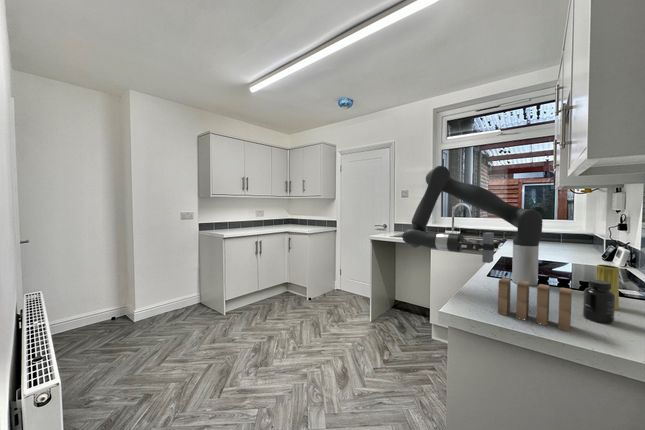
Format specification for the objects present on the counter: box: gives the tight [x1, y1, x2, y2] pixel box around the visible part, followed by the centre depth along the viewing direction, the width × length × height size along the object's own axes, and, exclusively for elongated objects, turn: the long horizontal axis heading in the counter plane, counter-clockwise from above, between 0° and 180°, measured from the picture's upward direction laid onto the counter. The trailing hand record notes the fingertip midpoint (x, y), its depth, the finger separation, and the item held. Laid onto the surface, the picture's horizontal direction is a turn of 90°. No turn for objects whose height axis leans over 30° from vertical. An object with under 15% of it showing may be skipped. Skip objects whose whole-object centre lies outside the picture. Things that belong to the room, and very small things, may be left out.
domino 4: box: [535, 283, 551, 326], centre depth 82 cm, size 5×2×11 cm, turn 135°
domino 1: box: [481, 231, 495, 264], centre depth 103 cm, size 5×2×11 cm, turn 134°
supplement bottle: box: [582, 279, 616, 325], centre depth 83 cm, size 7×7×12 cm
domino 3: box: [515, 281, 530, 321], centre depth 86 cm, size 5×2×11 cm, turn 135°
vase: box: [595, 264, 620, 311], centre depth 93 cm, size 6×6×14 cm
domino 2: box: [497, 277, 512, 316], centre depth 89 cm, size 5×2×11 cm, turn 135°
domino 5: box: [557, 287, 573, 331], centre depth 78 cm, size 5×2×11 cm, turn 135°
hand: (496, 246), depth 101 cm, fingers closed on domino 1, 5 cm apart
